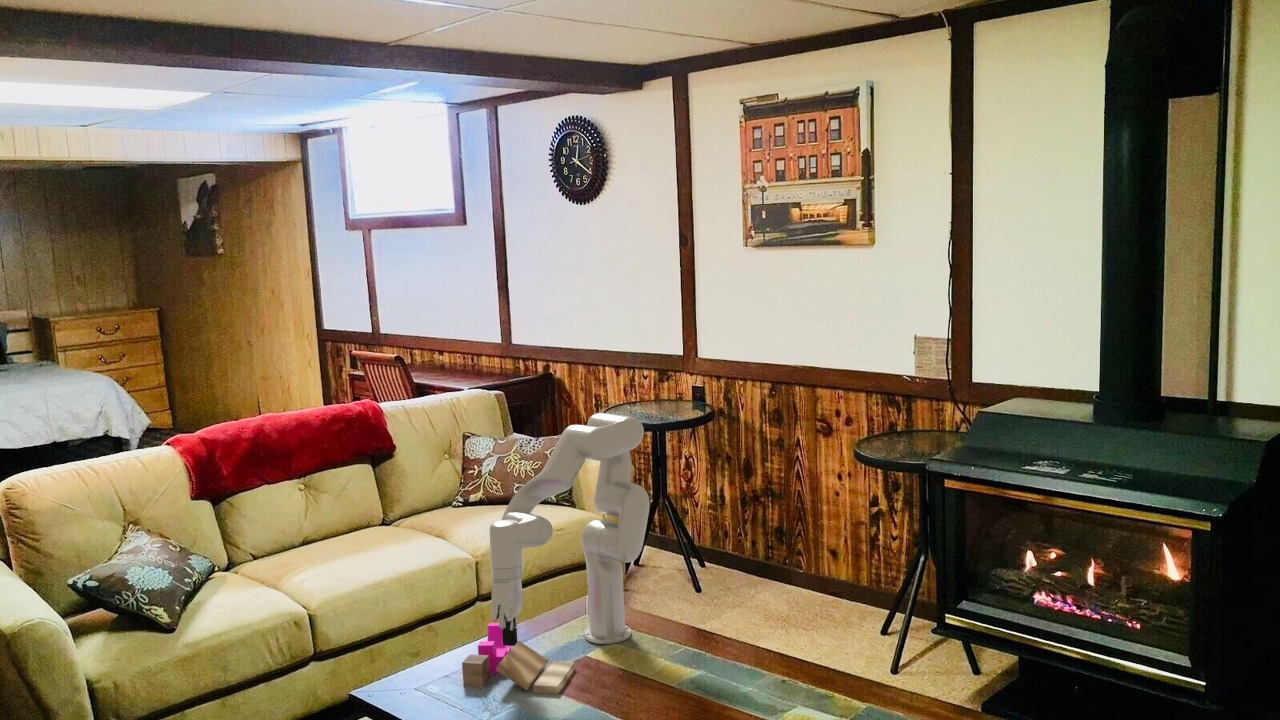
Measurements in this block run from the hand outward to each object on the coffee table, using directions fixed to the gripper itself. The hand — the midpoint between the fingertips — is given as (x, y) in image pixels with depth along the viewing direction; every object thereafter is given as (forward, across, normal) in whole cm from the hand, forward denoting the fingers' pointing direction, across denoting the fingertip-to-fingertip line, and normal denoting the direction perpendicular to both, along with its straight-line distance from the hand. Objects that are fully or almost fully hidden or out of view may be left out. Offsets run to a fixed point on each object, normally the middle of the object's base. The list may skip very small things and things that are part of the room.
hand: (510, 644), depth 251 cm
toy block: (+9, -10, -8) cm, 16 cm away
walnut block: (+9, +2, -8) cm, 13 cm away
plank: (+7, -1, +8) cm, 10 cm away
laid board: (+9, -1, +11) cm, 14 cm away
